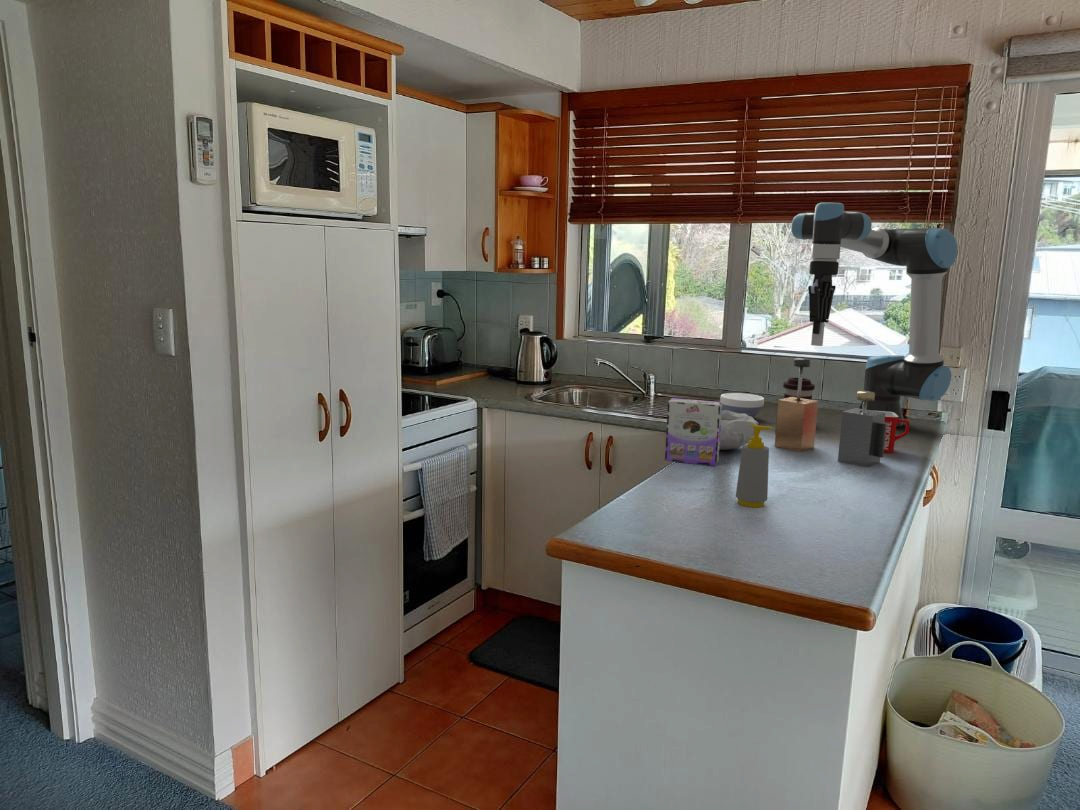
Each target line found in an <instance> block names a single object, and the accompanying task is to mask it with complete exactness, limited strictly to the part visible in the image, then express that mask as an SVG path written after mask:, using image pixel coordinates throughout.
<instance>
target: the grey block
mask: <svg viewBox="0 0 1080 810" xmlns="http://www.w3.org/2000/svg"><path fill="white" fill-rule="evenodd" d="M884 421H885V413H884V412H878V411H871V410H866V413H862V409H859V407H854V408H851V409H847V410H844V411H842V415H841V426H840V434H839V435H840V436H839V445H838V453H837V454H838V456H837V462H842V463H846V464H849V465H856V466H859V467H865V468H870V467H872V466H874V465H876V464H880V462H881V458H883V457H884V453H883V452H884V443H885V434H886V425H887V424H884Z"/></svg>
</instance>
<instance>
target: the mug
mask: <svg viewBox="0 0 1080 810" xmlns="http://www.w3.org/2000/svg"><path fill="white" fill-rule="evenodd" d="M878 412H884V413H885V421H884V424H887V425H886V434H885V443H884V452H883V454H884V453H885V454H893V453H894V451H895V442H896V441H898V440H899V439H901V438H903V437H905V436H907V435H908V434H909V431H910V424H911V423H910V421H909V420H908V419H903V420H902V419H898V415H896V414H895V413H893V412H886V411H878ZM901 422H903V423H905V429H904V432H903V433H900V434H899V435H897V434H896V432H897V427H896V426H897V424H898V423H901Z"/></svg>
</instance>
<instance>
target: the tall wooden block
mask: <svg viewBox="0 0 1080 810" xmlns="http://www.w3.org/2000/svg"><path fill="white" fill-rule="evenodd" d="M777 401H778V402H777V409H776V421H775V430H774V436H775V437H774V447H776V448H777V447H778V448H781V449H787V450H791V451H795V452H804V451H807V450H810V449H812V448H815V440H816V430H817V429H816V428H817V421H818V420H817V419H818V409H819V400H817V399H816V400H815V399H812V400H810V399H803V398H800V401H797V397H789V398H784V397H783V398H782V399H781V398H780V399H778V400H777Z"/></svg>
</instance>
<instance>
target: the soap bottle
mask: <svg viewBox="0 0 1080 810" xmlns="http://www.w3.org/2000/svg"><path fill="white" fill-rule="evenodd" d="M750 426H753V427H754V436H753V437H751V440H750V441H748V443H747V444H745V445H743V446H741V455H740V460H739V461H740V462H739V469H738V476H737V477H738V478H737V483H736V492H735V498H737V503H738V504H739V505H742V506H744V507H749V508H761V507H763V506H764V504H765V502H767V501H768V489H769V486H768V485H769V462H770V461H769V458H770V448H769V447H768V446H766V445H765V443H764V442H763V441H762V439H763V438H762V437H761V436H760V434H761V431H766V430H767V431H768V430H774V427H772V426H764V425H754V424H750Z"/></svg>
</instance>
